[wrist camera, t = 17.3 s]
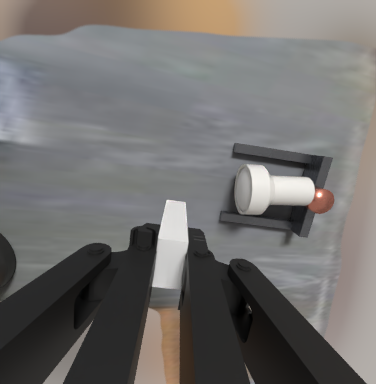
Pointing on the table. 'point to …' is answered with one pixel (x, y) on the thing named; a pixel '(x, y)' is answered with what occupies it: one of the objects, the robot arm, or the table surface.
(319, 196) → the channel
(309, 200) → the spotlight
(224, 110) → the table surface
